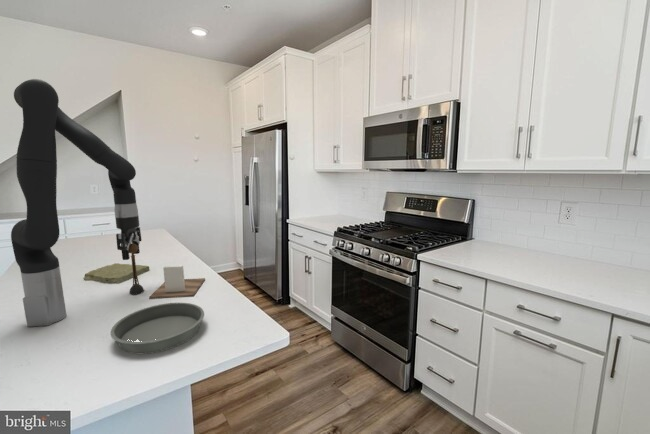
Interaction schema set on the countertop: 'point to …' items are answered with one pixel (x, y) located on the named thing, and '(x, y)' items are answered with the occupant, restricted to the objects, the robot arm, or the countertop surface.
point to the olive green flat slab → (115, 273)
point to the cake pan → (158, 327)
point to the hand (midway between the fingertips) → (131, 256)
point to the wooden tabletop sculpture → (134, 272)
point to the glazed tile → (174, 278)
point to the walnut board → (190, 290)
